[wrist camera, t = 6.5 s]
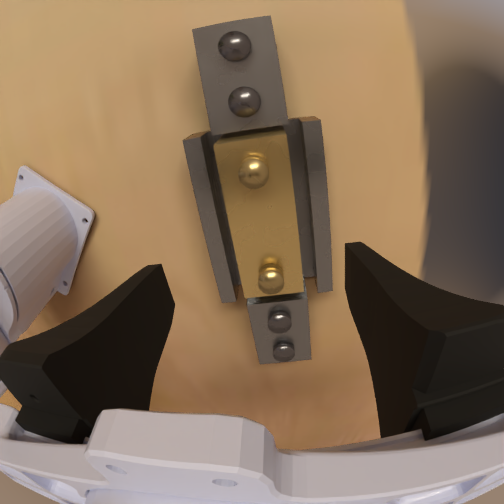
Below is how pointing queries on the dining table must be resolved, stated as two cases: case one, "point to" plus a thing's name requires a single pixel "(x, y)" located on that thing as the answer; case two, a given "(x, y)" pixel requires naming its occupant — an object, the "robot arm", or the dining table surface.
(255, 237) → the brass link
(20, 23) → the dining table surface
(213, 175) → the chain
